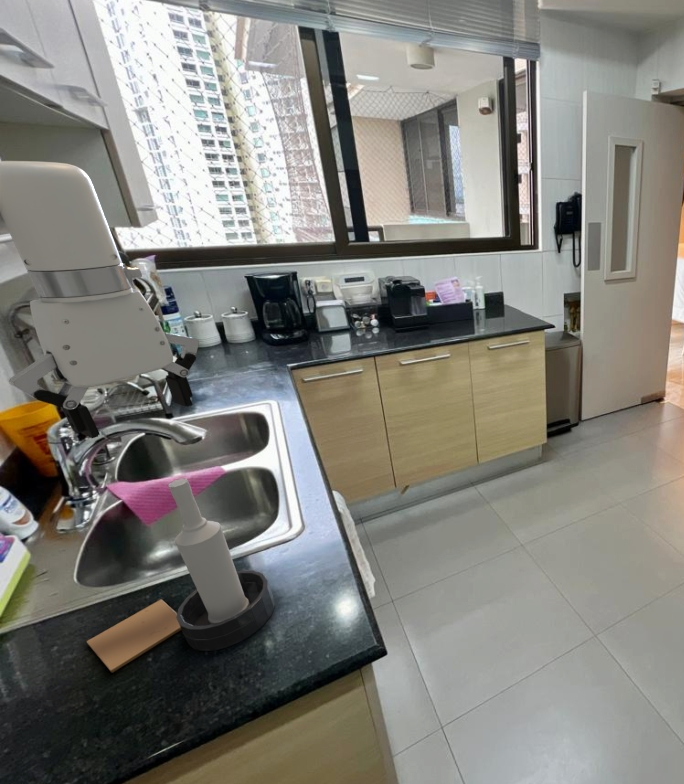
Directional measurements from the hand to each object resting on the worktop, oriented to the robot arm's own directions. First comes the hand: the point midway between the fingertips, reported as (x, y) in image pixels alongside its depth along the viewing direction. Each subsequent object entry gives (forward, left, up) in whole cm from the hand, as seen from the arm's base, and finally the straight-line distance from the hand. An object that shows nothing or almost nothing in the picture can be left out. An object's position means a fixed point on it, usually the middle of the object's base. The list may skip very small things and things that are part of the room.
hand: (140, 418), depth 59 cm
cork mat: (-7, -8, -35) cm, 36 cm away
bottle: (+2, +1, -35) cm, 35 cm away
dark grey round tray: (+2, +1, -35) cm, 35 cm away
